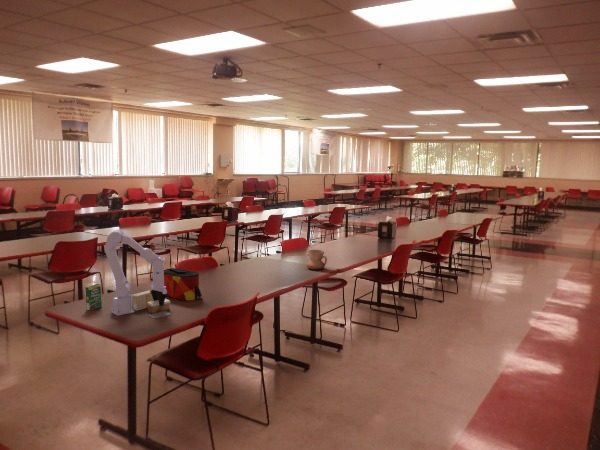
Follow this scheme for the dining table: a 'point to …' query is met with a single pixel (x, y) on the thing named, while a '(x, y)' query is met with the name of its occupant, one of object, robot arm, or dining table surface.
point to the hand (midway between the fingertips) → (158, 304)
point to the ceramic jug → (316, 259)
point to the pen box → (158, 308)
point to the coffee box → (93, 297)
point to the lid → (157, 302)
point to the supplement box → (141, 300)
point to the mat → (159, 314)
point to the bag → (182, 284)
